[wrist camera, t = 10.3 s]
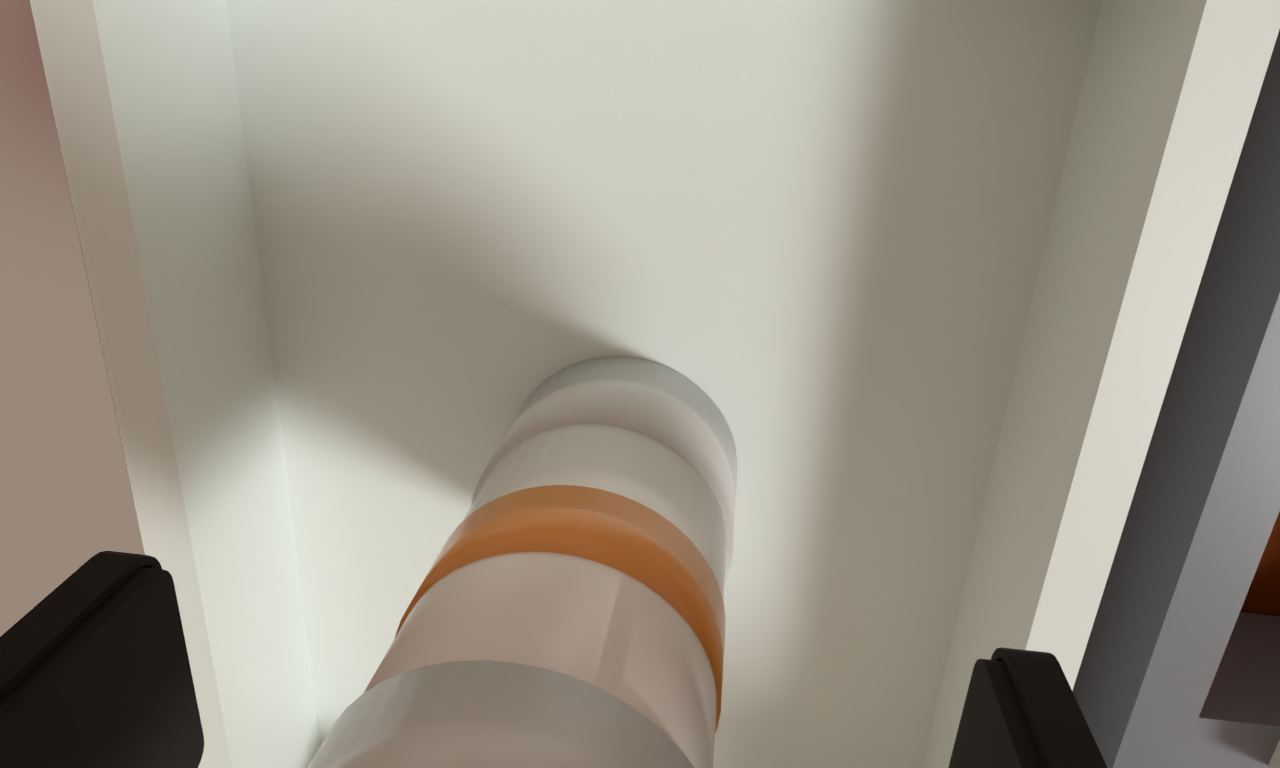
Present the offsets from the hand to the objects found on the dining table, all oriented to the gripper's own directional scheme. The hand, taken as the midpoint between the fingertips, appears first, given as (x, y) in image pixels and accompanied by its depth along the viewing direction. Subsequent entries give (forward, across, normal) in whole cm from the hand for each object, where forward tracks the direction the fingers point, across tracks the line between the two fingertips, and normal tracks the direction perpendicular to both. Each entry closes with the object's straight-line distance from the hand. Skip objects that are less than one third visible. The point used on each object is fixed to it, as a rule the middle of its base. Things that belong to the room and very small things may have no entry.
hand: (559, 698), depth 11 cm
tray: (+7, 0, 0) cm, 7 cm away
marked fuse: (+6, 0, 0) cm, 6 cm away
